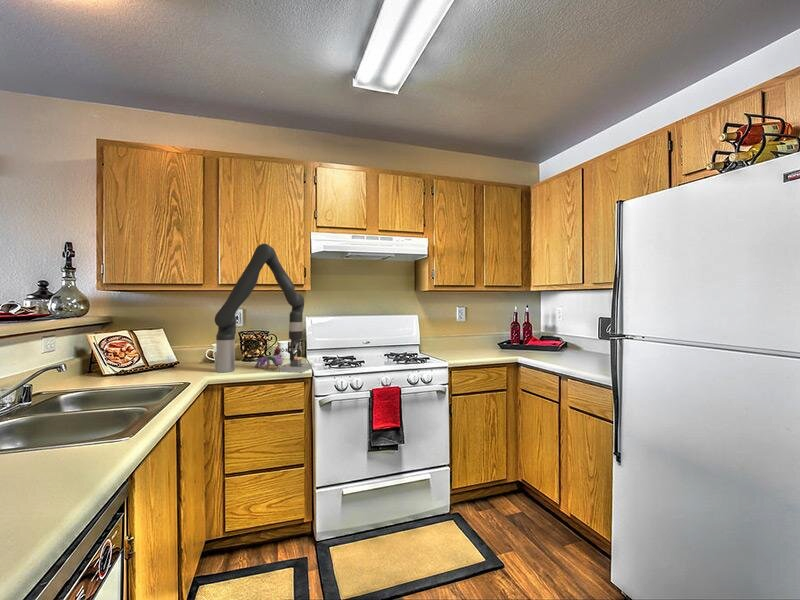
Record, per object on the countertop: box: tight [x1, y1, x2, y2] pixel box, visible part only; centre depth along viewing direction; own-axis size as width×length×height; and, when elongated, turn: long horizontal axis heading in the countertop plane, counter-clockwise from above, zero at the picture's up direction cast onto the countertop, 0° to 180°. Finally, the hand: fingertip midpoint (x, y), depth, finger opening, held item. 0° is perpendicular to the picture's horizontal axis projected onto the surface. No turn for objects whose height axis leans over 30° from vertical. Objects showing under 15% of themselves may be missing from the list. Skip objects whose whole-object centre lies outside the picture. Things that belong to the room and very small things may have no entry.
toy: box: [254, 347, 284, 370], centre depth 225 cm, size 10×15×15 cm
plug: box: [289, 356, 302, 366], centre depth 213 cm, size 4×4×7 cm
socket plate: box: [278, 362, 313, 374], centre depth 213 cm, size 13×13×3 cm
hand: (295, 359), depth 213 cm, fingers open, 8 cm apart
